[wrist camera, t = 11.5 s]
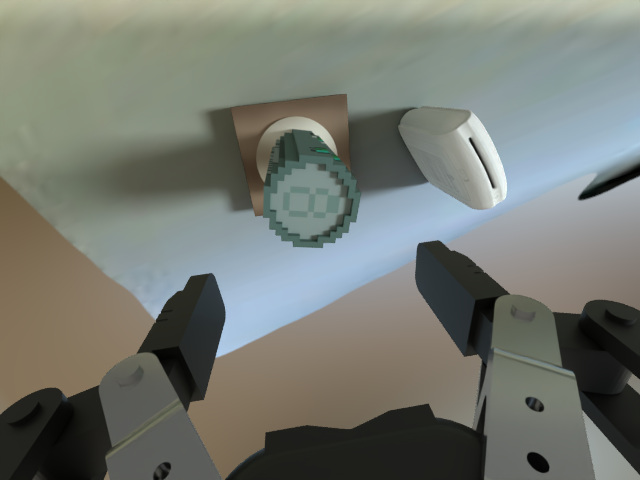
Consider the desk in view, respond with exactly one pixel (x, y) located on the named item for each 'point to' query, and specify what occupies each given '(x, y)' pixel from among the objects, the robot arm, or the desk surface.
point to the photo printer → (455, 154)
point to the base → (278, 117)
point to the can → (308, 191)
